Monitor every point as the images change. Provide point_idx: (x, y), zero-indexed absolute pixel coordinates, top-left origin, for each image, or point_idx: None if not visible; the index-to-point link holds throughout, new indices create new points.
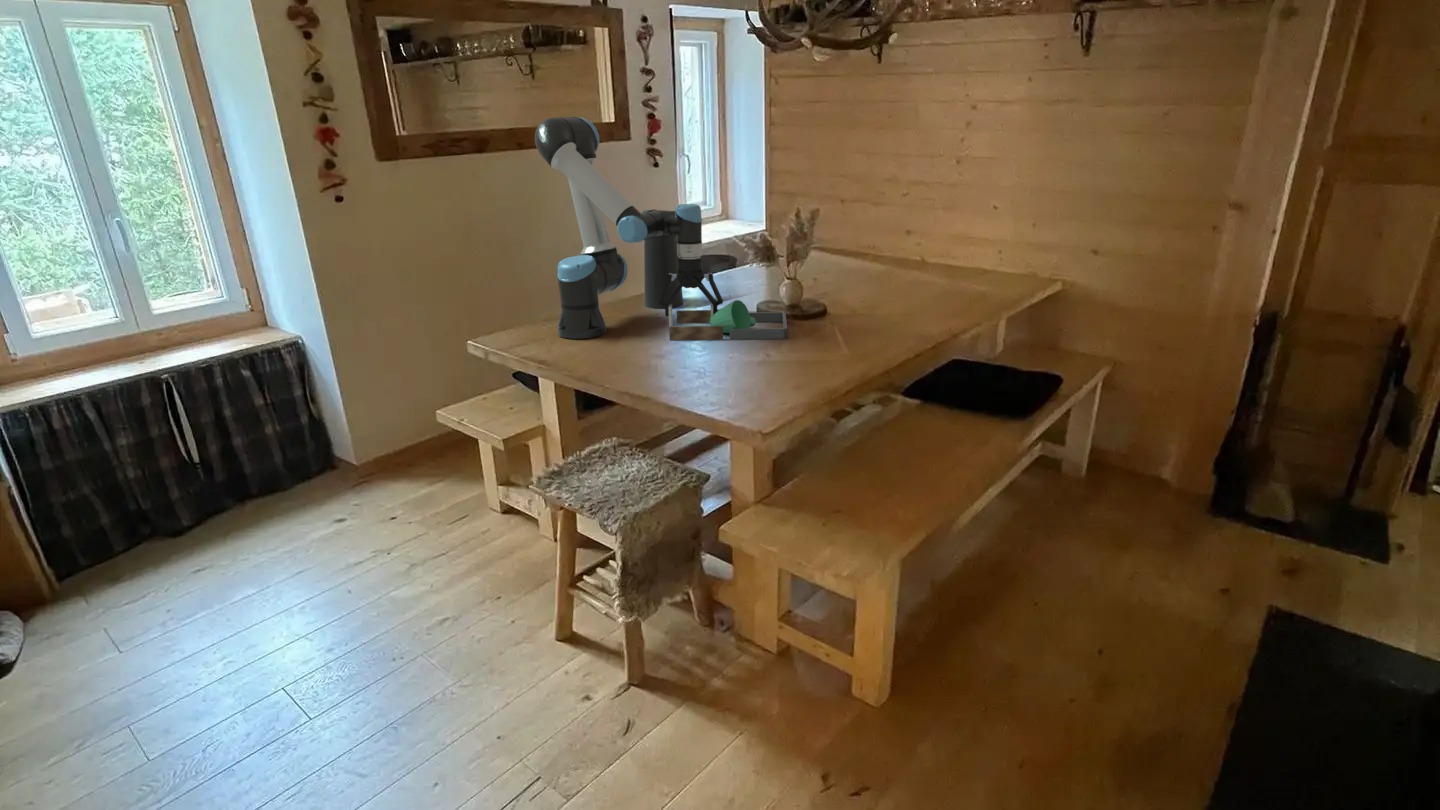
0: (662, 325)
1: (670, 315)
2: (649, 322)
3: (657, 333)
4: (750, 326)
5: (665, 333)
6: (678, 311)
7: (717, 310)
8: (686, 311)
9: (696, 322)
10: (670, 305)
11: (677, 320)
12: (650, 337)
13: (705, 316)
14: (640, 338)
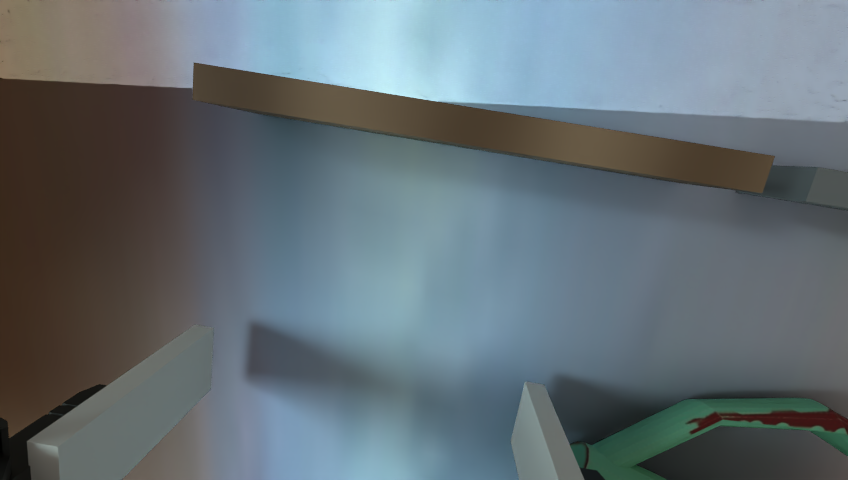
0: (146, 158)
1: (136, 455)
2: (26, 23)
3: None
4: (831, 444)
5: None
6: (218, 103)
7: (662, 173)
8: (306, 117)
9: (422, 140)
10: (46, 476)
11: (252, 112)
12: None
13: (509, 153)
14: None
